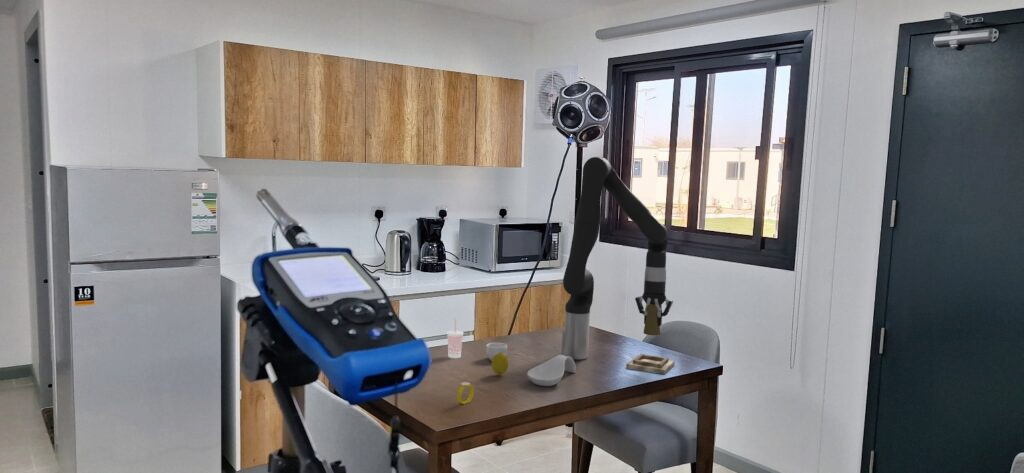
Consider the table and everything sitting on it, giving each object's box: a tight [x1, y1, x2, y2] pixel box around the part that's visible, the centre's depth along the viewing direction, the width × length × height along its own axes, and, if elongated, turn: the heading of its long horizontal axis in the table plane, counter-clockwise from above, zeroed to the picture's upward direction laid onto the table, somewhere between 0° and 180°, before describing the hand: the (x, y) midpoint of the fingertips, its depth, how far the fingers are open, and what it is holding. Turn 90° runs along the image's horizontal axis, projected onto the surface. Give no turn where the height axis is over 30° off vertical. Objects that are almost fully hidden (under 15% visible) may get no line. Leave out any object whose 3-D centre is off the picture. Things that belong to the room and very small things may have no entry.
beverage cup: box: [446, 318, 464, 359], centre depth 257 cm, size 6×6×14 cm
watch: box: [456, 381, 475, 405], centre depth 207 cm, size 6×3×6 cm, turn 143°
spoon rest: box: [526, 354, 577, 387], centre depth 234 cm, size 24×12×7 cm, turn 148°
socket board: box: [625, 353, 675, 375], centre depth 254 cm, size 14×14×3 cm
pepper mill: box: [642, 304, 661, 336], centre depth 252 cm, size 6×6×11 cm
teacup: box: [485, 342, 508, 361], centre depth 256 cm, size 10×8×5 cm
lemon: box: [491, 352, 509, 376], centre depth 236 cm, size 6×6×8 cm
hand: (652, 326), depth 252 cm, fingers closed on pepper mill, 3 cm apart
